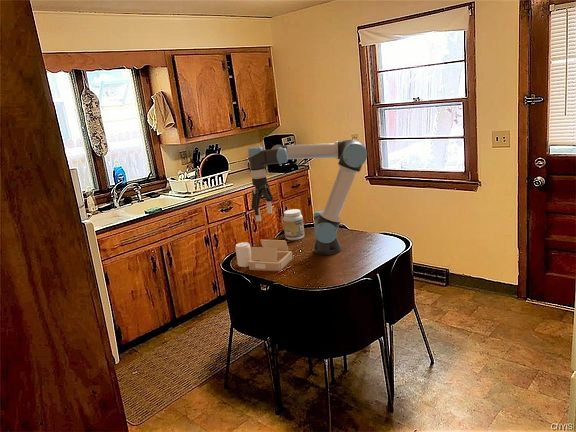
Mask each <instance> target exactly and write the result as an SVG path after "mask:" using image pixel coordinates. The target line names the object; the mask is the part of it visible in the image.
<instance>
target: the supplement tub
mask: <svg viewBox="0 0 576 432" xmlns="http://www.w3.org/2000/svg"><path fill="white" fill-rule="evenodd" d="M282 222H283V229H284V236H285V237H284V238H285V240H289V241H298V240H301V239H303V238H304V237H305V228H304V227H305V226H304V218H303V215H302V212H301V209H295V208H293V209H292V208H291V209H287V210H285V211H283V218H282Z"/></svg>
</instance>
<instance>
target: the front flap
mask: <svg viewBox="0 0 576 432" xmlns="http://www.w3.org/2000/svg"><path fill="white" fill-rule="evenodd" d="M250 247H251V260H266V261H277V251H278V250H277V248H270V247H263V246H250Z"/></svg>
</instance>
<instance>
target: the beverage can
mask: <svg viewBox="0 0 576 432" xmlns="http://www.w3.org/2000/svg"><path fill="white" fill-rule="evenodd" d="M251 247H252V246H251V244H250V243H249V242H246V241H243V242H238V243H236V244H235V248H234V249H235V255H236V262H237V266H238V267H241V268H249V264H248V262H249V260H251Z"/></svg>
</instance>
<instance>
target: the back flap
mask: <svg viewBox="0 0 576 432" xmlns="http://www.w3.org/2000/svg"><path fill="white" fill-rule="evenodd" d="M287 243H288V242H287V239H285V240H283V239H282V240H279V239H260V244H261V245H262V246H261V247H270V248H277V251H290V250H289V247H288V244H287Z"/></svg>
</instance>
